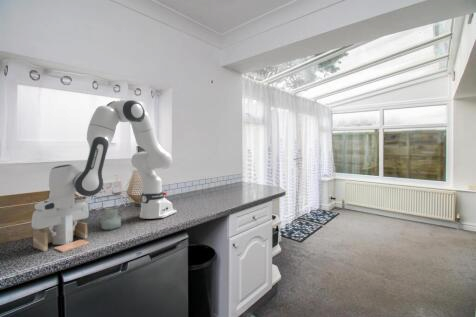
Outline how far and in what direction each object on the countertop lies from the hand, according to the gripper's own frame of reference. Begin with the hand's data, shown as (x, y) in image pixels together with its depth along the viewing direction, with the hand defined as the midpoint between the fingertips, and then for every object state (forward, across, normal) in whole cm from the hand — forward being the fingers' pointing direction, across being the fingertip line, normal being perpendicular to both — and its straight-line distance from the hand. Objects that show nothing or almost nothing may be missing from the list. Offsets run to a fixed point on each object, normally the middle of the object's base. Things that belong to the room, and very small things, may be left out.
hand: (62, 233), depth 98 cm
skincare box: (+4, 0, 0) cm, 4 cm away
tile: (+4, 0, +8) cm, 9 cm away
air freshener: (+4, -22, 0) cm, 22 cm away
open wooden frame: (+4, 0, 0) cm, 4 cm away
